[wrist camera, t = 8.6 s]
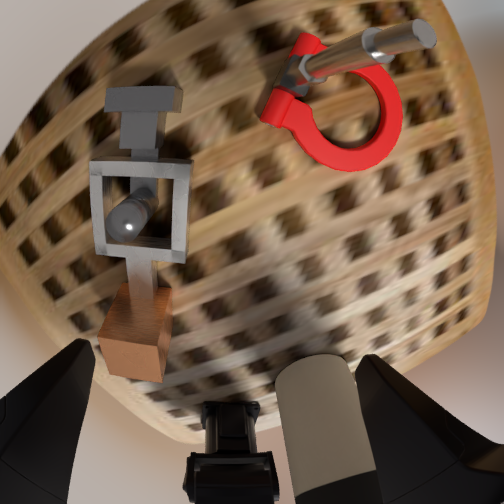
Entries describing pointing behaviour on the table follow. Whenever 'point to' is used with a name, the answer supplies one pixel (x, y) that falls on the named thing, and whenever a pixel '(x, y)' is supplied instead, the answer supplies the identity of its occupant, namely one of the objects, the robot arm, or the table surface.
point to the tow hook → (335, 62)
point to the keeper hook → (140, 150)
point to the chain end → (140, 268)
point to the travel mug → (326, 433)
